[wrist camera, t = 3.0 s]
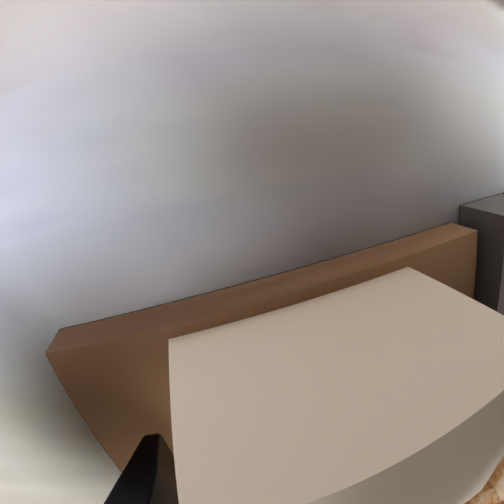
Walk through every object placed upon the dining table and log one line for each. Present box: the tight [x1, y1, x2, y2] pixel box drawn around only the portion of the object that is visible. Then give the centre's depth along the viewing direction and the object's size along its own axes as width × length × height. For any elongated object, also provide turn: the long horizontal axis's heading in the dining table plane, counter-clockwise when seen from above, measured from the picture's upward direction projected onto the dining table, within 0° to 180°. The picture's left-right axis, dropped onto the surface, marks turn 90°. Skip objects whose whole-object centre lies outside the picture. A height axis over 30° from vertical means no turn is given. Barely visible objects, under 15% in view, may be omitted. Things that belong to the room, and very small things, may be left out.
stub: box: [168, 267, 504, 504], centre depth 6 cm, size 5×6×5 cm
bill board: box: [45, 223, 477, 472], centre depth 9 cm, size 18×12×4 cm, turn 11°
